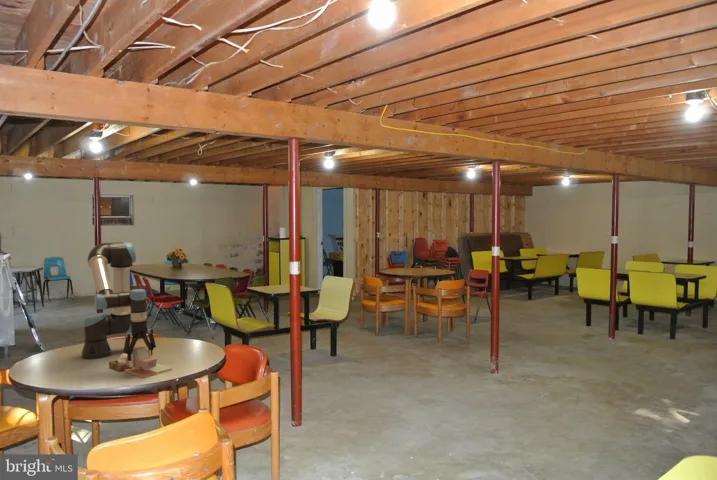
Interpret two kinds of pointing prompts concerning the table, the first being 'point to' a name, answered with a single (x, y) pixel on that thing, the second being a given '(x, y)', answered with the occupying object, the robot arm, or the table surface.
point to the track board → (148, 371)
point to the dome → (122, 359)
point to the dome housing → (118, 366)
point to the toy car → (142, 359)
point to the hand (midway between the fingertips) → (140, 364)
